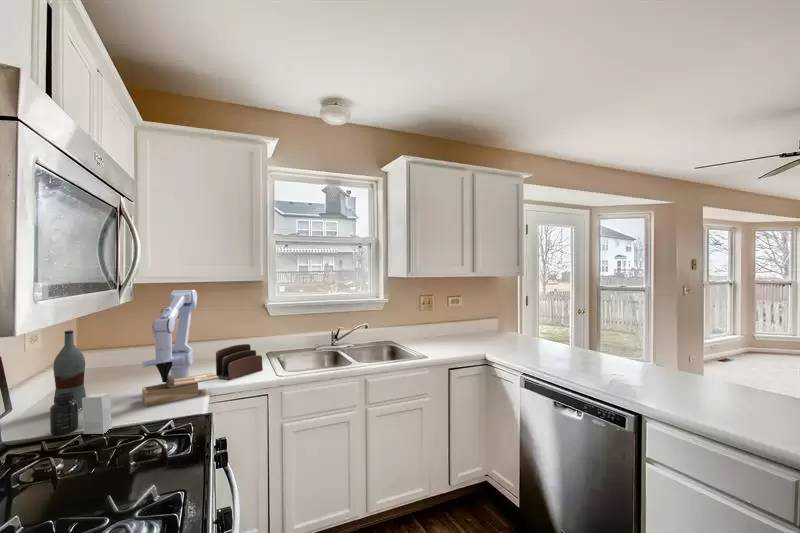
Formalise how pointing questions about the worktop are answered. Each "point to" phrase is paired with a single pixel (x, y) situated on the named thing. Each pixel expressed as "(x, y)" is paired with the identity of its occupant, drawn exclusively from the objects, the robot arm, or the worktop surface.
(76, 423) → the supplement bottle
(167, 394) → the box
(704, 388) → the worktop surface
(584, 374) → the worktop surface
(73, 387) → the vodka
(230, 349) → the letter holder
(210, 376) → the mailer lid
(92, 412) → the skincare box
